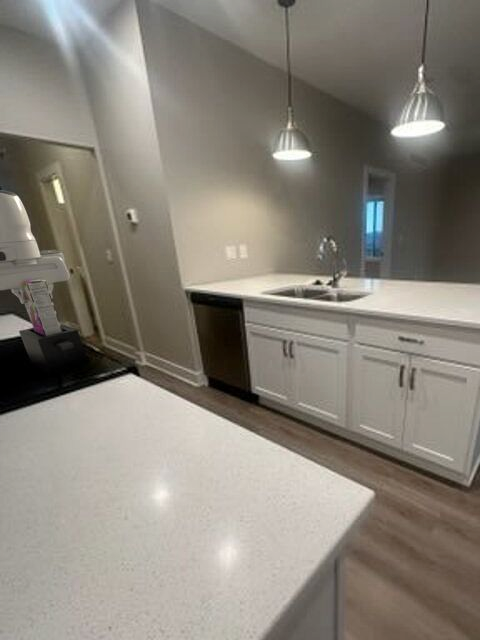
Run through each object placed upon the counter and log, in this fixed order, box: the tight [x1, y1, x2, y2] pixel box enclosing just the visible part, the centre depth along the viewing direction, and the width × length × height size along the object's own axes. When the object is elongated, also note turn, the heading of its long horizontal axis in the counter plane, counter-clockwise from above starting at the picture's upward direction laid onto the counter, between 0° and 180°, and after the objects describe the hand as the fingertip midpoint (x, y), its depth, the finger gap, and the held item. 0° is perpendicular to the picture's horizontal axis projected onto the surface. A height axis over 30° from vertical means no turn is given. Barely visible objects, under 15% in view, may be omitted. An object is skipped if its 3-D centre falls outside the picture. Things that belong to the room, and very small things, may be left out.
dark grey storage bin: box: [18, 323, 89, 376], centre depth 108 cm, size 10×17×11 cm, turn 52°
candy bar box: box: [19, 279, 63, 336], centre depth 103 cm, size 11×5×16 cm, turn 51°
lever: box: [56, 341, 74, 350], centre depth 100 cm, size 3×4×1 cm
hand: (37, 301), depth 102 cm, fingers closed on candy bar box, 5 cm apart
